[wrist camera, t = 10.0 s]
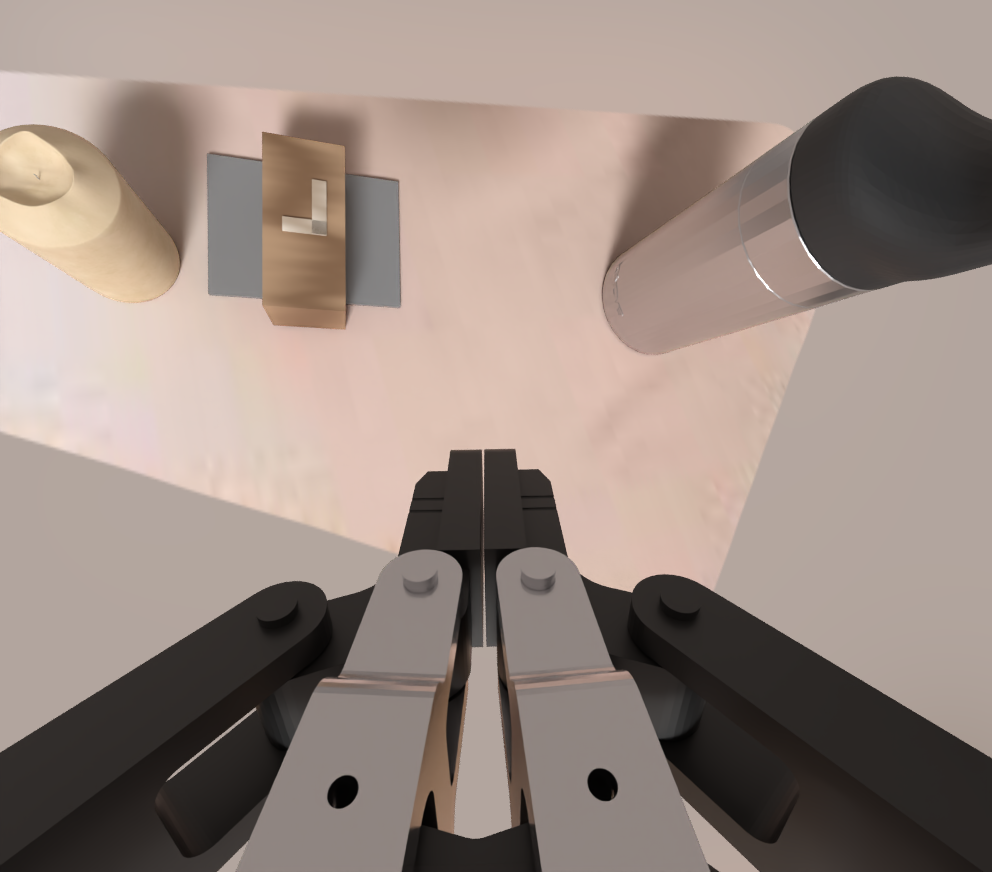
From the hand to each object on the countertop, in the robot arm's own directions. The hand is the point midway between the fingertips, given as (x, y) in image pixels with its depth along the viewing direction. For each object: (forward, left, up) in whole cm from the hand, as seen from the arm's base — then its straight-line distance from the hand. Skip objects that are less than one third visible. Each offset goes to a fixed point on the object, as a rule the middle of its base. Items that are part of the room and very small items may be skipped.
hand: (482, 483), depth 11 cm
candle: (+15, -13, -24) cm, 31 cm away
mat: (+5, -15, -23) cm, 29 cm away
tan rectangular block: (+5, -9, -21) cm, 23 cm away
